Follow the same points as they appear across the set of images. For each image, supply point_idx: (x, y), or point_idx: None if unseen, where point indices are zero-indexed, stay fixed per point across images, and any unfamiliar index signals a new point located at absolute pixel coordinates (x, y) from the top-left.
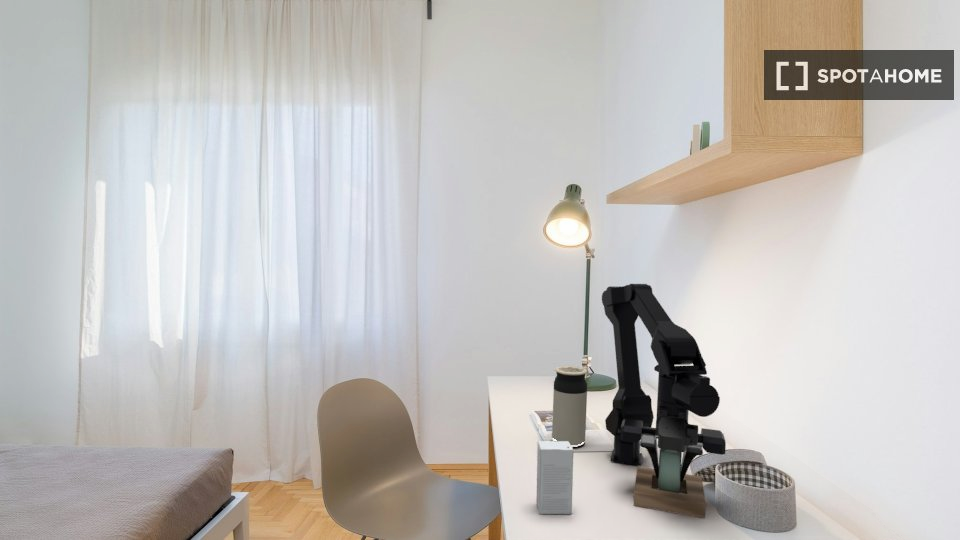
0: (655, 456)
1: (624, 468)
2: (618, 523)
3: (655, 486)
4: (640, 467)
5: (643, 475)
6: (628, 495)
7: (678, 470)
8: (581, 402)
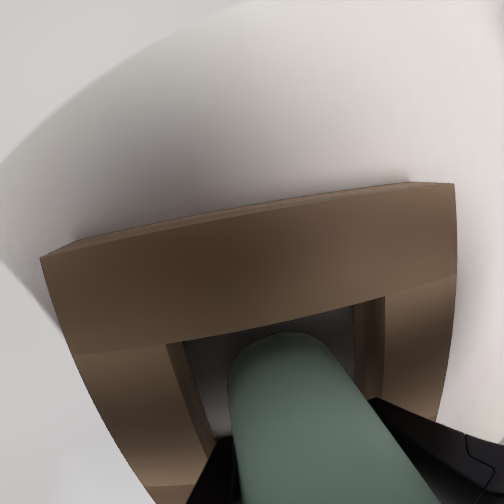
0: (481, 470)
1: None
2: (410, 12)
3: None
4: None
5: (415, 409)
6: None
7: (254, 478)
8: None
